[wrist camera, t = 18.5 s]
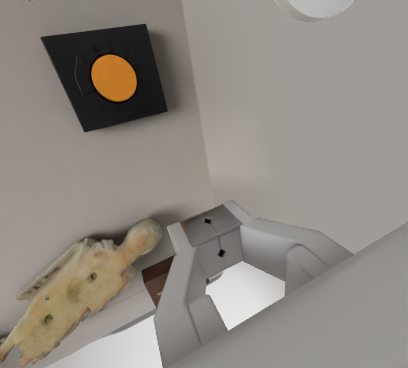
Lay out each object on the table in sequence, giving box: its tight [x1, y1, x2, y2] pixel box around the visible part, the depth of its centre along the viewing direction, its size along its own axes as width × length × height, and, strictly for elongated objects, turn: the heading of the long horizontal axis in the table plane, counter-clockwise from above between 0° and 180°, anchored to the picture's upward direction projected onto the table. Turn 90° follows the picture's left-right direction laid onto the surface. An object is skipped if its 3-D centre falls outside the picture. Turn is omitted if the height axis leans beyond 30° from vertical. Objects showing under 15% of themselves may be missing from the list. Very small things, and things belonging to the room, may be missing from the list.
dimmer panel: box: [142, 255, 209, 308], centre depth 39 cm, size 11×9×3 cm
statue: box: [0, 218, 162, 367], centre depth 30 cm, size 10×7×30 cm
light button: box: [92, 55, 137, 101], centre depth 20 cm, size 4×4×2 cm
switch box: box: [40, 24, 168, 132], centre depth 22 cm, size 10×9×4 cm
